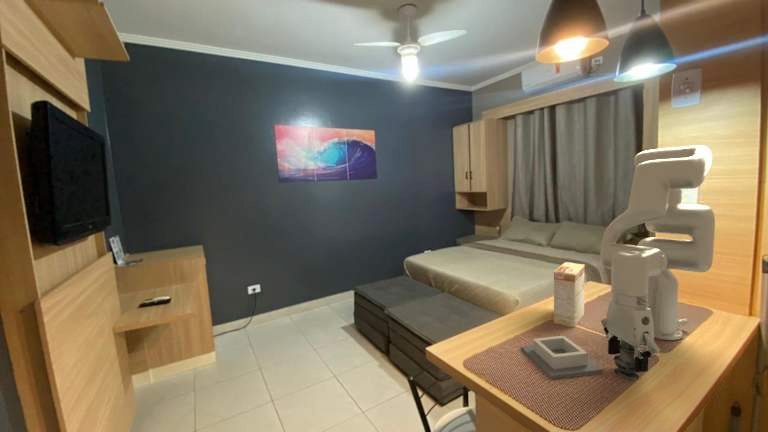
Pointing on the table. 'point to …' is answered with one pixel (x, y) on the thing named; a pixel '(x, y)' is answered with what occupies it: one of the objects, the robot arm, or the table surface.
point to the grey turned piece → (626, 362)
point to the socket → (560, 358)
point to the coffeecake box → (569, 294)
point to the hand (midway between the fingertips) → (626, 361)
